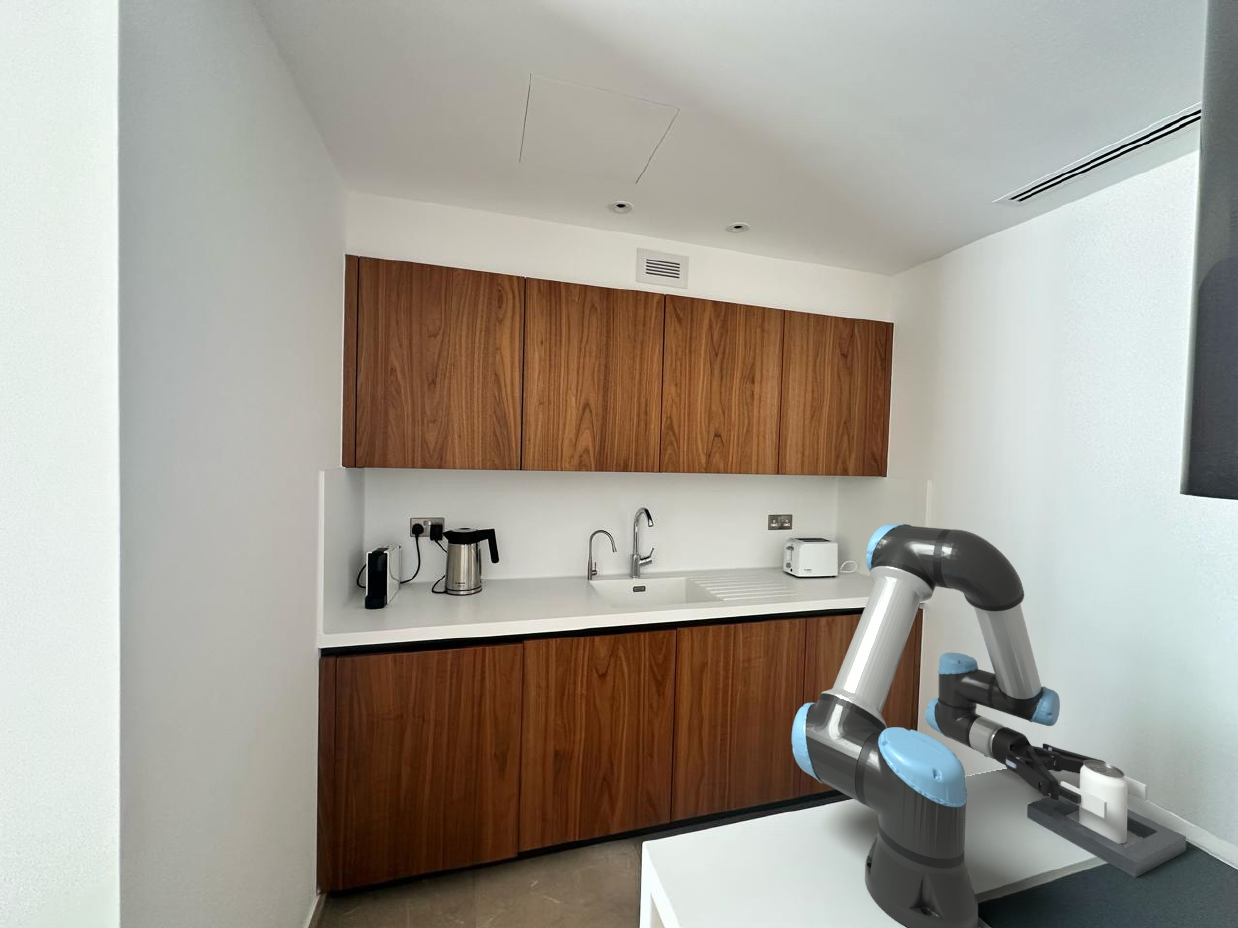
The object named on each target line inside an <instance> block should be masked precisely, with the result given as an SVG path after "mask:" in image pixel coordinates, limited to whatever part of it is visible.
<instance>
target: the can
mask: <svg viewBox="0 0 1238 928" xmlns="http://www.w3.org/2000/svg"><path fill="white" fill-rule="evenodd" d="M1104 762H1105V761H1104ZM1104 762H1100V761H1095V760H1085V761H1084V762H1083V764H1084V765H1083V766H1082V768H1081V770H1080V774H1079V786H1080V789H1081V790H1083V791H1085V792H1087V793H1089V794H1091V795H1093V796H1096V797H1098V798H1100V799H1102V800H1104V801H1106V802H1107V817H1106V818H1102V817H1100V816H1098V815H1096V814H1094V813H1092V812H1090V811H1088V810H1086V809H1084V808H1082V807H1080V806H1079V811H1078V813H1079V814H1078V816H1079V819H1078V823H1080V824H1082V825H1084V826H1086V827H1088V828H1089V829H1091V830H1093V831H1095V832H1097V833H1099V834H1101V835H1103V836H1105V837H1107V838H1109V839H1110V840H1112V841H1114V842H1116V843H1118V844H1120V845H1123V844H1125V843H1126V842H1127V837H1128V830H1127V809H1128V786H1127V782H1126V780H1125V778H1124V776H1125V772H1123V771H1122V770H1121V768H1118V767H1116V766H1114V765H1112V764H1110V763H1104Z"/></svg>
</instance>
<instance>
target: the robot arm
mask: <svg viewBox="0 0 1238 928" xmlns="http://www.w3.org/2000/svg"><path fill="white" fill-rule="evenodd" d="M866 552H867V554H865V562H866V567H867V569H868V571H869V577H870V579H871V580H872V582H873V586H872V589H871V592H870V594H869V597H868V599H867V602H866V604H865V607H864V609H863V610H862V611H863V612H862V614H861V615H860V619H859V621H858V625H856V626H857V627H856V629H855V631H854V634H853V637H852V639H851V642H850V644H849V647H848V649H847V652H846V654H845V657H844V659H843V661H842V664H841V666H840V669H839V672H838V673H837V677H836V679H835V682H834V684H833V687H832V688H831V689H828V690H825V691H822V692H821V693H819V697H818V699H817V701H816V703H815V702H807V703H804V704H803V705H802V706H801V707H800V708H799V709H798V711H797V713H796V715H795V717H794V719H793V724H792V729H791V730H792V731H791V745H792V754H793V756H794V759H795V762H796V764H797V765H798V766H799V768H800V769H801V770H802V771H803V772H804V773H806V774H808V775H809V776H812V777H813V778H814V779H816V780H817V781H818V782H819V783H820V784H825V785H827V786H829V787H831V788H833V789H835V790H837V791H839V793H842V794H844V795H846V796H848V798H851V799H853V800H854V801H856V802H859V803H861V804H862V805H864V806H866V807H868V808H870V809H872V810H873V811H875V812H876V813H878V814H877V820H878V821H877V833H876V835H875V837H874V841H873V842H872V845H871V846H870V849H869V851H868V854H867V856H866V860H865V865H864V883H865V886H866V889H867V891H868V893H869V895H870V897H871V899H873V901H874V902H875V903H876V904H877V906H878V907H880V909H881V910H883V911H884V912H885V913H886V914H887V915H889V916H890V917H891V918H893V919H894V920H895V921H897V922H898V923H900V924H902V925H903V926H906V927H907V928H977V926H978V923H979V922H978V921H979V919H978V917H979V906H978V905H979V904H978V900H977V896H976V894H975V892H974V889H973V885H972V882H971V878H970V875H969V872H968V867H967V865H966V862H965V846H966V810H967V809H966V807H967V800H968V790H967V788H966V772H965V768H964V766H963V763H962V762H961V761H960V759H959V758H958V756H957V755H956V753H955V752H953V751H952V750H951V749H950V748H949V747H948V746H946V745H945V744H944V743H943V742H941V741H940V740H937V739H935V738H933V737H932V736H929V735H927V734H925V733H923V732H920V731H918V730H914V729H906V728H905V727H897V726H895V727H893V726H892V727H888V725H887V723H886V721H885V719H884V718H883V715H882V711H883V710H884V709H883V708H884V706H885V703H886V700H887V698H888V694H889V692H890V689H891V686H892V683H893V680H894V678H895V675H896V672H897V669H898V666H899V664H900V660H901V658H902V655H903V652H904V649H905V647H906V643H907V641H908V638H909V635H910V632H911V629H912V626H913V623H914V621H915V618H916V616H917V613H918V610H919V606H920V603H921V602H925V601H928V600H930V599H932V597H933V594H934V592H935V589H936V587H937V588H942V589H943V588H944V589H948V590H949V589H951V590H955V591H959V592H961V593H962V594H963V596H964V598H965V600H966V602H967V604H969V605H970V606H972V607H973V608H974V612H975V614H976V618H977V621H978V623H979V627H980V630H981V634H982V636H983V640H984V643H985V647H986V650H987V653H988V657H989V659H990V662H991V665H992V669H993V672H990V671H987V670H983V669H979V666H978V662H977V660H976V658H974V657H973V656H969V655H967V654H963V653H960V652H945V653H942V654H941V655H940V656H939V665H938V671H937V672H938V673H937V674H938V697H935V698H933V699H931V700H930V701H929V702H928V703H927V705H926V706H927V708H926V710H924V711H925V715H924V716H925V721H926V723H927V724H928V726H929V727H930V728H931V729H933V730H934V731H936V732H938V733H939V734H942V735H943V736H944V737H945V738H948V739H951V740H954V741H955V742H958V743H960V744H962V745H964V746H966V747H968V748H970V749H972V750H973V751H974V750H975V751H976V752H978V753H980V754H982V755H983V756H984V757H986V758H990V759H992V760H995V761H997V762H998V763H1000V764H1001V765H1004V766H1005V768H1006V769H1008V770H1009V771H1011V772H1014V773H1015V774H1016V775H1018V776H1019V777H1020V778H1021V779H1022V780H1024V781H1025V782H1026V783H1028V785H1030V786H1031V787H1032V788H1033V789H1035V790H1036V791H1037V792H1038V793H1039V794H1040V795H1042V796H1044V797H1048V796H1051V798H1052V799H1054V800H1059V796H1060V797H1062V798H1064V799H1066V800H1068V801H1070V802H1072V803H1074V804H1076V805H1078V806H1080V807H1082V808H1084V809H1086V810H1088V811H1090V812H1092V813H1094V814H1096V815H1098V816H1100V817H1102V818H1106V817H1107V802H1106V801H1104V800H1102V799H1100V798H1098V797H1096V796H1093V795H1091V794H1089V793H1087V792H1085V791H1083V790H1081V789H1079V788H1077V787H1075V786H1074V785H1072V784H1070V783H1069V782H1066V781H1060V782H1059V780H1058V779H1056V778H1055V776H1054V775H1053V774H1052V773H1051V772H1050V771H1053V772H1057V773H1058V772H1062V771H1066V772H1069V773H1074V774H1077V775H1080V770H1081V768H1082V766H1083V765H1084V764H1083V762H1084V761H1085V760H1095V761H1100V762H1104V763H1106V761H1104V760H1101V759H1098V758H1096V757H1095V758H1094V757H1092V756H1091V757H1090V756H1087V755H1083V754H1080V753H1076V752H1073V751H1070V750H1065V749H1062V748H1058V747H1056V746H1053V745H1050V744H1048V743H1042V747H1041V746H1040V747H1039V746H1034V745H1032V744H1031V743H1030V741H1029V739H1028V737H1027V736H1026V735H1025V734H1023V733H1022V732H1020V731H1017V730H1015V729H1013V728H1010V727H1008V726H1005V725H1003V724H1002V723H999V722H997V721H994V720H992V719H989V718H987V717H985V716H982V715H980V714H978V713H977V711H976V710H977V706H982V707H986V708H989V709H991V710H996V711H998V712H1002V713H1004V714H1007V715H1009V716H1012V717H1013V716H1014V717H1016V718H1020V719H1022V720H1026V721H1028V722H1029V723H1036V724H1040V725H1043V726H1047V727H1052V726H1055V725H1056V723H1057V721H1058V719H1059V716H1060V711H1061V710H1060V709H1061V708H1060V707H1061V699H1060V696H1059V694H1058V692H1057V691H1055V690H1053V689H1050V688H1048V687H1047V686H1044V685H1042V683H1041V679H1040V676H1039V672H1038V669H1037V668H1038V667H1037V663H1036V661H1035V656H1034V653H1033V648H1032V644H1031V640H1030V637H1029V633H1028V629H1027V625H1026V621H1025V616H1024V613H1023V610H1022V605H1021V604H1022V603H1023V602H1024V599H1025V591H1024V587H1023V584H1022V580H1021V577H1020V576H1019V573H1018V572H1017V571H1016V569H1015V567H1014V566H1013V564H1012V563H1011V562H1010V560H1009V559H1008V558H1007V557H1006V556H1005V555H1004V554H1003V553H1002V551H1000V550H999V549H998V548H997V547H996V546H995V545H993V544H992V543H990V542H989V541H988V540H987V539H985V538H983V537H982V536H980V535H977V534H975V533H973V532H970V531H967V530H963V529H949V528H939V527H938V528H937V527H929V526H928V527H925V526H913V525H911V524H907V523H900V524H893V523H892V524H890V523H889V524H885V525H881V526H880V527H879V528H877V529H876V530H875V531H874V533H873V534H872V536H871V537H870V539H869V541H868V544H867V547H866ZM1124 778H1125V780H1126V782H1127V786H1128V794H1129V795H1131V796H1132V797H1136V798H1138V799H1140V800H1142V801H1145V802H1146V801H1147V800H1148V785H1147V784H1145V783H1144V782H1141V781H1138V780H1136V779H1134V778H1131V777H1129V776H1126V775H1124Z"/></svg>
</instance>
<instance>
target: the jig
mask: <svg viewBox="0 0 1238 928" xmlns="http://www.w3.org/2000/svg"><path fill="white" fill-rule="evenodd" d="M1075 787H1077V788H1079V789H1080V785H1076V786H1075ZM1026 805H1027V806H1026V810H1027V811H1026V818H1027V819H1029V820H1031V821H1033V822H1035V823H1037V824H1038V825H1040V826H1042V827H1043V828H1045V829H1047V830H1048V831H1050V832H1053V833H1054V834H1056V835H1057V836H1060V837H1061V838H1063V839H1065V840H1067V841H1069V842H1071V843H1072V844H1074V845H1075V846H1078V847H1079V848H1081V849H1083V850H1085V851H1087V852H1088V853H1090V854H1092V855H1094V856H1095V857H1097V858H1099V859H1101V860H1102V861H1104V862H1106V863H1107V864H1109V865H1112V866H1113V867H1115V868H1117V869H1119V870H1121V871H1122V872H1124V873H1126V874H1128V875H1129V876H1131V877H1132V878H1137V877H1140V876H1141V875H1143V874H1146V872H1148V871H1151V870H1153V869H1154V868H1156V867H1158V866H1161V865H1162V864H1163V863H1166V862H1167V861H1169V860H1171V859H1173V858H1175V857H1177V856H1179V855H1181V854H1183V853H1185V852H1186V851H1187V836H1186V835H1184V834H1183V833H1182V834H1181V833H1180V832H1178V831H1175V830H1173V829H1171V828H1169V827H1167V826H1165V825H1163V824H1160V823H1158V822H1156V821H1154V820H1152V819H1150V818H1147V816H1146V817H1145V816H1143V815H1142V814H1140V813H1136V812H1134V811H1132V810H1131V809H1128V808H1127V832H1130V833H1132V834H1135V835H1136V836H1137V837H1140V838H1142V839H1140V840H1138V841H1136V842H1134V843H1133V844H1130V845H1128V846H1124V845H1123V844H1118V843H1116V842H1114V841H1112V840H1110V839H1109V838H1107V837H1105V836H1103V835H1101V834H1099V833H1097V832H1095V831H1093V830H1091V829H1089V828H1088V827H1086V826H1084V825H1082V824H1080V823H1079V821H1076V820H1074V819H1073V818H1070V817H1068V816H1070V815H1072V814H1074V813H1076V812H1079V806H1078V805H1076V804H1074V803H1072V802H1070V801H1068V800H1066V799H1064V798H1062V797H1060V796H1059V800H1054V799H1052V798H1051V795H1049V796H1045V797H1044V798H1041V799H1038V800H1035V801H1033V802H1031V803H1026Z"/></svg>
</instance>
